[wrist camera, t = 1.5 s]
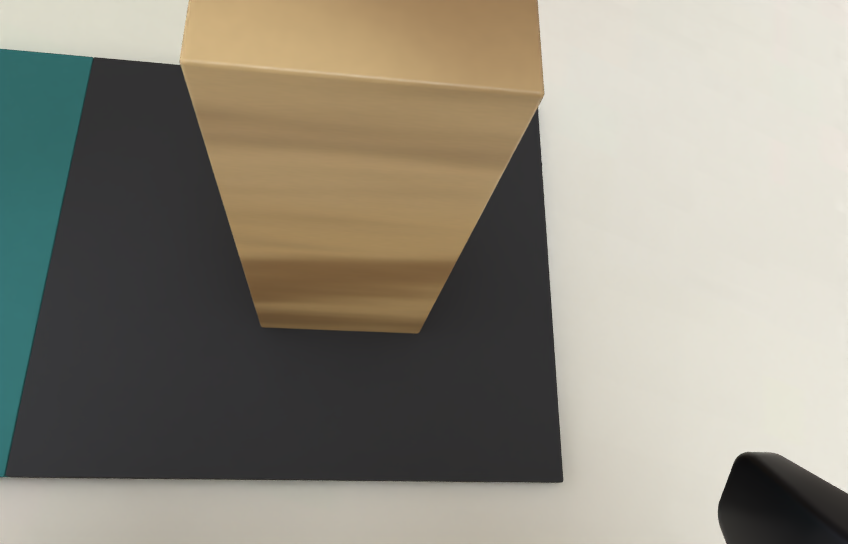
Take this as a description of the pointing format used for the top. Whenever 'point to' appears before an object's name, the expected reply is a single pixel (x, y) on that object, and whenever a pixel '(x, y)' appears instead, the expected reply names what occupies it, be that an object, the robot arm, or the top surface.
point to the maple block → (358, 143)
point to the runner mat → (236, 314)
